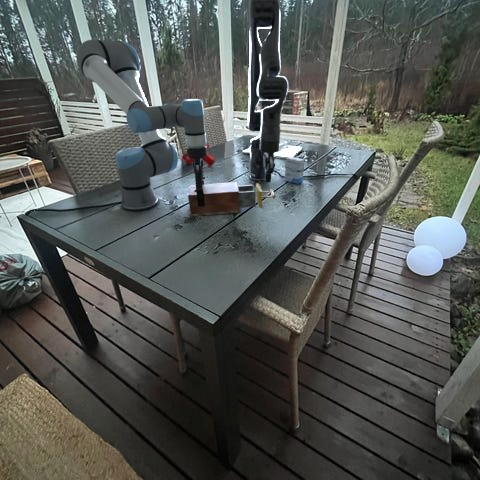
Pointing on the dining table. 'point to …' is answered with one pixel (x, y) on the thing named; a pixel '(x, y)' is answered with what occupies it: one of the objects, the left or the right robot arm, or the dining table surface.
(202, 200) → the left robot arm
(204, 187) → the cabinet
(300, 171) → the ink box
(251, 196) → the drawer
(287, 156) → the relief map
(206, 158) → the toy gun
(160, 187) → the dining table surface
